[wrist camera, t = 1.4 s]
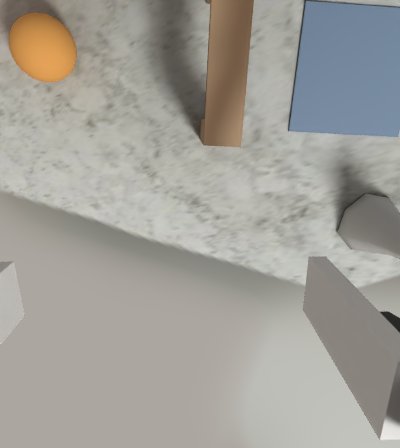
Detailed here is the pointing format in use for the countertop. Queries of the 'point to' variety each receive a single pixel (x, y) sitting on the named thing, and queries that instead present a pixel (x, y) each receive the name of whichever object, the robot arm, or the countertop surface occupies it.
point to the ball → (42, 47)
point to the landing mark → (348, 70)
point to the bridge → (226, 72)
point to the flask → (372, 226)
